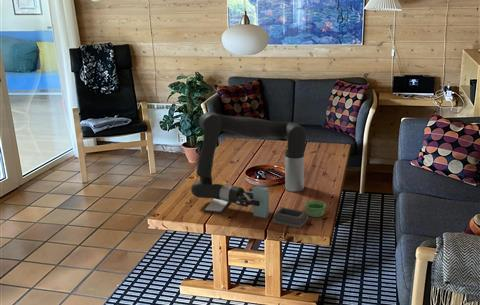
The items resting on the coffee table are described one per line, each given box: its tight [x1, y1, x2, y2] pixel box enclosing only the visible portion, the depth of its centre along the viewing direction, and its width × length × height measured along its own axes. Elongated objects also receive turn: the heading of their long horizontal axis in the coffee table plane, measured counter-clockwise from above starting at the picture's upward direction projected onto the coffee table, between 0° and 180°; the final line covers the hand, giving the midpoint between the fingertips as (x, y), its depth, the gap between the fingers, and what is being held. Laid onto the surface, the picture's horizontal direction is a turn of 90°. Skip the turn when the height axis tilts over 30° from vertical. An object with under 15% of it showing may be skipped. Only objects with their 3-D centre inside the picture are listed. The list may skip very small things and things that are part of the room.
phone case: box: [204, 198, 231, 214], centre depth 242 cm, size 9×2×16 cm
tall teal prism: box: [252, 185, 270, 219], centre depth 229 cm, size 4×6×13 cm, turn 61°
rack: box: [271, 206, 309, 229], centre depth 224 cm, size 9×13×4 cm
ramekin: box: [305, 200, 327, 218], centre depth 231 cm, size 9×9×4 cm
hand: (263, 200), depth 228 cm, fingers open, 8 cm apart
